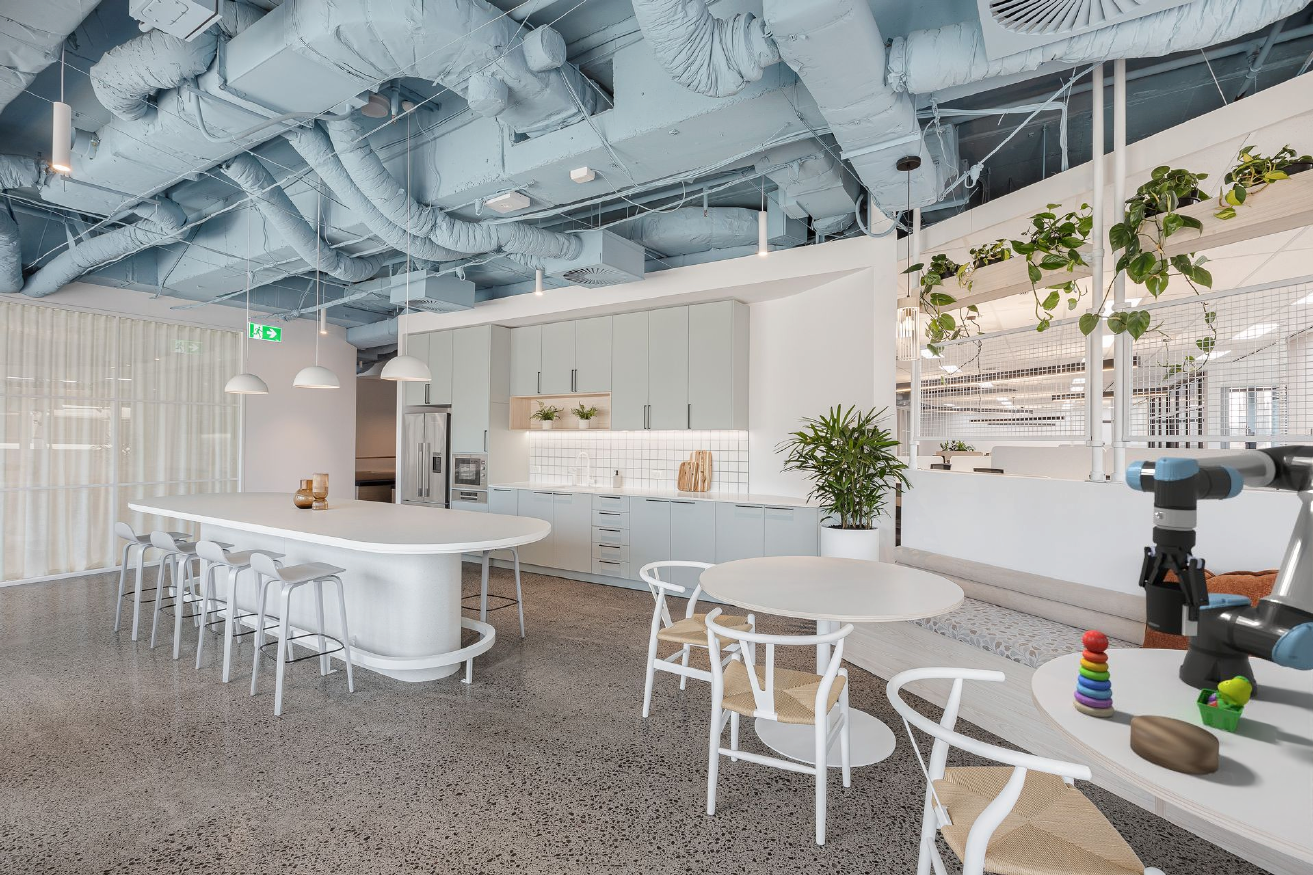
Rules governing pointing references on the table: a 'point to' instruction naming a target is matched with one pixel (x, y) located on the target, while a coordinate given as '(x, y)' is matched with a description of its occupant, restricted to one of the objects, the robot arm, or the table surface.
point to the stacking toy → (1094, 677)
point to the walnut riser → (1174, 744)
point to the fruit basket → (1224, 703)
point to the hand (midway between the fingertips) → (1170, 627)
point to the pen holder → (1165, 607)
